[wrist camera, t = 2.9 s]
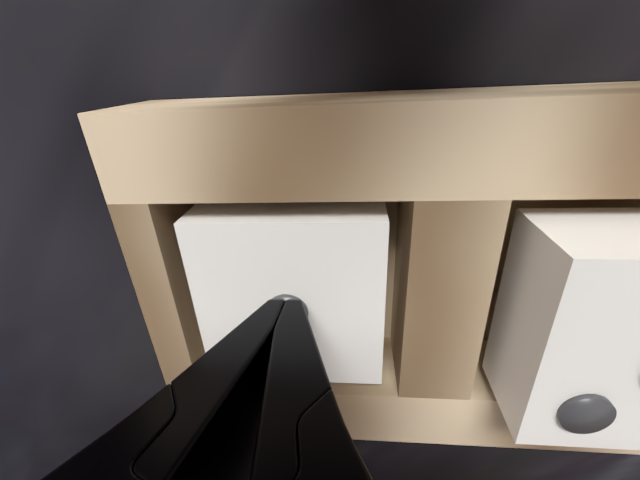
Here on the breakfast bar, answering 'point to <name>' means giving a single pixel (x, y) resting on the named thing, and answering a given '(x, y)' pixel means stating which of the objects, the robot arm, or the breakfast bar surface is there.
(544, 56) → the breakfast bar surface
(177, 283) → the beige wooden frame
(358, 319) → the key one dot
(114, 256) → the breakfast bar surface
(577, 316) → the key three dots
